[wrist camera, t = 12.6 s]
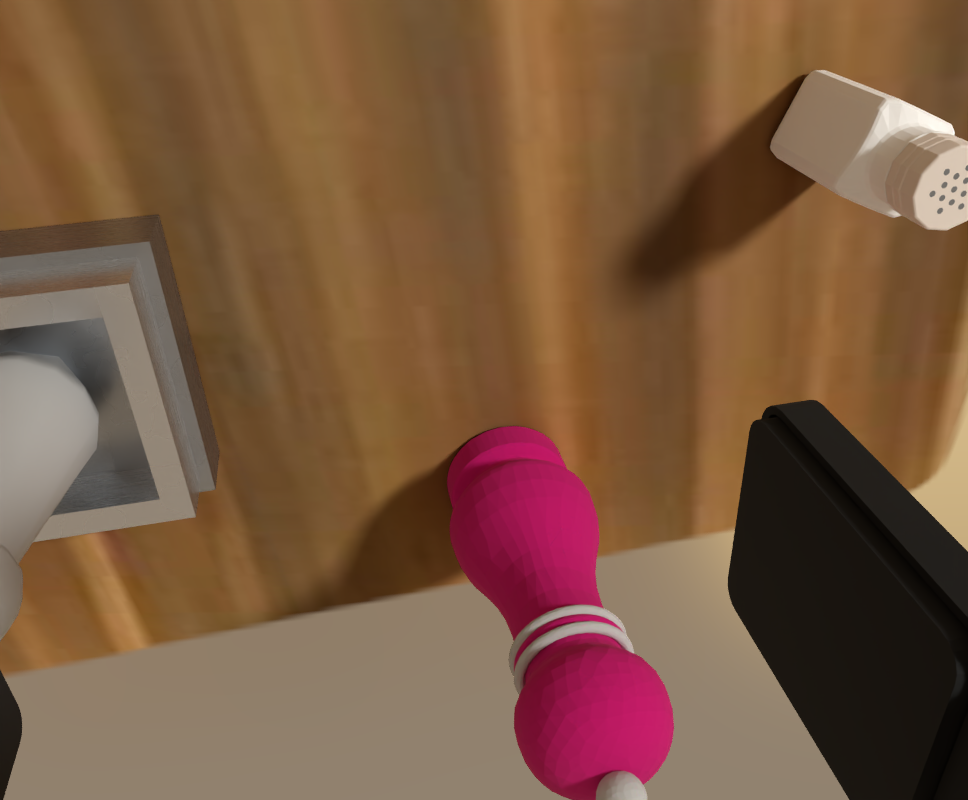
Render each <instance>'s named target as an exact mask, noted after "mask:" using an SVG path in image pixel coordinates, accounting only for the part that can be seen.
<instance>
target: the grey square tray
mask: <svg viewBox="0 0 968 800" xmlns="http://www.w3.org/2000/svg"><path fill="white" fill-rule="evenodd" d="M5 351H16V352H24V353H33V354H41V355H49V356H58V357H60V359H61V360H62V361H63V362H64V363H65V364H66V365H67V367H68V368H69V369H70V370H71V371H72V372H73V373H74V375H75V376H76V377H77V378H78V379H79V380H80V381H81V383H82V384H83V385H84V386H85V387H86V388H87V389H88V391H89V393H90V395H91V398H92V400H93V402H94V404H95V406H96V408H97V411H98V413H99V422H98V441H97V449H96V450H95V452H94V453H93V454H92V456H91V457H90V459H89V460H88V461H87V463H86V464H85V466H84V467H83V468H82V470H81V471H80V473H79V474H78V476H77V477H76V479H75V480H74V482H73V483H72V485H71V486H70V488H69V489H68V491H67V492H66V494H65V495H64V497H63V498H62V500H61V501H60V503H59V504H58V505H57V507H56V508H55V510H54V511H53V513H52V514H51V516H50V517H49V519H48V520H47V522H46V523H45V525H44V526H43V528H42V529H41V531H40V532H39V534H38V535H37V537H36V538H35V540H34V541H33V542H37V541H43V540H50V539H56V538H63V537H69V536H75V535H82V534H88V533H95V532H101V531H108V530H114V529H121V528H127V527H134V526H140V525H147V524H153V523H160V522H166V521H172V520H179V519H185V518H192V517H196V511H197V504H198V496H199V492H203V491H209V490H215V489H216V479H217V470H218V460H219V449H218V445H217V441H216V437H215V433H214V429H213V425H212V421H211V417H210V413H209V409H208V405H207V402H206V398H205V394H204V390H203V386H202V382H201V378H200V374H199V370H198V366H197V362H196V358H195V355H194V351H193V347H192V343H191V339H190V335H189V331H188V327H187V323H186V319H185V315H184V311H183V308H182V304H181V300H180V296H179V292H178V288H177V284H176V280H175V276H174V272H173V268H172V264H171V260H170V257H169V253H168V249H167V245H166V241H165V237H164V233H163V229H162V225H161V221H160V217H159V215H151V216H141V217H132V218H122V219H113V220H103V221H94V222H85V223H75V224H66V225H56V226H47V227H38V228H28V229H19V230H9V231H0V353H2V352H5Z"/></svg>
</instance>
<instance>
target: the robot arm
mask: <svg viewBox="0 0 968 800" xmlns="http://www.w3.org/2000/svg"><path fill="white" fill-rule="evenodd" d="M728 590H729V595H730V599H731V602H732V605H733V606H734V609H735V610H736V612H737V613H738V615H739V617H740V619H741V620H742V622H743V624H744V625H745V627H746V629H747V630H748V632H749V634H750V635H751V637H752V639H753V640H754V642H755V644H756V645H757V647H758V649H759V650H760V652H761V654H762V655H763V657H764V658H765V660H766V662H767V663H768V665H769V667H770V669H771V670H772V672H773V674H774V675H775V677H776V679H777V680H778V682H779V684H780V685H781V687H782V688H783V690H784V692H785V693H786V695H787V697H788V698H789V700H790V702H791V703H792V705H793V707H794V708H795V710H796V712H797V713H798V715H799V717H800V718H801V720H802V722H803V723H804V725H805V727H806V728H807V730H808V732H809V733H810V735H811V736H812V738H813V740H814V742H815V743H816V745H817V747H818V748H819V750H820V752H821V753H822V755H823V757H824V758H825V760H826V762H827V763H828V765H829V766H830V768H831V770H832V772H833V773H834V775H835V777H836V778H837V780H838V782H839V783H840V785H841V786H842V788H843V790H844V791H845V793H846V795H847V796H848V798H849V800H968V552H967V550H966V549H965V548H964V547H962V545H961V544H959V543H958V541H957V540H956V539H955V538H954V537H953V536H952V535H951V534H950V533H949V532H947V530H946V529H945V528H944V527H943V526H942V525H941V524H940V523H939V522H938V521H937V520H936V519H935V518H934V517H933V516H932V515H931V514H930V513H929V512H928V511H927V510H926V509H925V508H924V507H923V506H922V505H921V504H920V503H919V502H918V501H917V500H916V499H915V498H914V497H913V496H912V495H911V494H910V493H909V492H908V491H907V490H906V489H905V488H904V487H903V486H902V485H901V484H900V483H899V482H898V481H897V480H896V479H895V478H894V477H893V476H892V475H891V474H890V473H889V472H888V471H887V469H886V468H885V467H884V466H883V465H882V464H881V463H880V462H879V461H878V460H877V459H876V458H875V457H874V456H873V455H872V454H871V453H870V452H869V451H868V450H867V449H866V448H865V447H864V446H863V445H862V444H861V443H860V442H859V441H858V440H857V439H856V438H855V437H854V436H853V435H852V434H851V433H850V432H849V431H848V430H847V429H846V428H845V427H844V426H843V425H842V424H841V423H840V422H839V421H838V420H837V419H836V418H835V417H834V416H833V415H832V414H831V413H830V412H829V411H828V410H827V409H826V408H825V407H824V406H823V405H822V404H821V403H819V402H818V401H815V400H807V401H800V402H794V403H787V404H780V405H774V406H770V407H768V408H766V410H765V411H764V413H763V415H762V419H760V420H756V421H754V422H753V423H752V425H751V428H750V432H749V439H748V445H747V452H746V459H745V466H744V473H743V480H742V486H741V493H740V500H739V507H738V514H737V520H736V527H735V534H734V541H733V549H732V555H731V561H730V568H729V575H728ZM21 735H22V718H21V713H20V709H19V707H18V704H17V702H16V700H15V698H14V696H13V695H12V693H11V691H10V688H9V687H8V684H7V682H6V681H5V679H4V677H3V675H2V673H1V671H0V800H3V798H4V795H5V791H6V788H7V785H8V781H9V778H10V774H11V771H12V768H13V764H14V761H15V758H16V754H17V751H18V748H19V744H20V740H21Z"/></svg>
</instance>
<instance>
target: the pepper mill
mask: <svg viewBox="0 0 968 800" xmlns="http://www.w3.org/2000/svg"><path fill="white" fill-rule="evenodd" d="M447 488H448V493H449V497H450V500H451V504H452V508H453V512H452V516H451V519H450V538H451V543H452V546H453V549H454V552H455V555H456V558H457V560H458V562H459V565H460V567H461V569H462V570H463V571H464V573H465V574H466V576H467V577H468V579H469V580H470V581H471V583H472V584H473V585H474V586H475V587H476V588H477V589H478V590H479V591H480V592H481V593H483V594H484V595H485V596H486V597H487V598H488V599H489V600H490V601H491V602H492V603H493V604H494V605H495V606H496V607H497V608H498V609H499V611H500V612H501V614H502V615H503V617H504V618H505V620H506V622H507V624H508V627H509V629H510V631H511V634H512V636H513V640H514V642H513V644H512V646H511V649H510V653H509V667H510V669H511V672H512V674H513V676H514V684H515V687H516V690H517V692H518V694H519V698H518V701H517V704H516V707H515V713H514V729H515V734H516V738H517V742H518V746H519V748H520V751H521V753H522V756H523V758H524V760H525V762H526V764H527V766H528V767H529V769H530V770H531V772H532V773H533V774H534V776H535V777H536V778H537V779H538V780H539V781H540V782H541V783H542V784H543V785H544V786H546V787H547V788H548V789H550V790H551V791H552V792H555V793H557V794H559V795H561V796H563V797H566V798H569V799H572V800H647V794H646V790H645V788H644V786H643V784H645V783H646V782H647V781H649V780H650V779H651V778H652V777H653V775H654V774H655V773H656V772H657V771H658V770H659V768H660V767H661V765H662V764H663V762H664V761H665V759H666V757H667V755H668V752H669V750H670V747H671V743H672V739H673V738H672V737H673V730H674V723H673V711H672V706H671V703H670V699H669V696H668V693H667V691H666V688H665V686H664V684H663V682H662V681H661V679H660V677H659V676H658V674H657V672H656V671H655V670H654V669H653V668H652V667H651V666H650V665H649V664H648V663H647V662H645V661H644V660H643V659H642V658H641V657H640V656H638V655H636V654H634V650H633V646H632V643H631V642H630V640H629V638H628V637H627V636H626V630H625V628H624V625H623V623H622V622H621V621H620V619H619V618H617V616H615V615H614V614H613V613H611V612H610V611H608V610H606V609H604V608H603V606H602V603H601V600H600V597H599V593H598V590H597V585H596V576H595V570H596V569H595V568H596V558H597V552H598V546H599V526H598V517H597V514H596V511H595V508H594V505H593V502H592V499H591V496H590V493H589V491H588V490H587V488H586V487H585V485H584V484H583V482H582V481H581V480H580V479H579V478H578V477H577V476H576V475H575V474H574V473H572V472H571V471H569V470H567V468H566V466H565V464H564V462H563V459H562V457H561V455H560V453H559V451H558V449H557V447H556V446H555V444H554V443H553V442H552V441H551V440H550V439H549V438H548V437H546V436H545V435H544V434H542V433H540V432H538V431H536V430H533V429H529V428H525V427H519V426H510V427H499V428H496V429H492V430H489V431H486V432H484V433H482V434H480V435H478V436H477V437H475V438H473V439H471V440H470V441H469V442H468V443H467V444H466V445H465V446H464V447H462V448H461V450H460V451H459V452H458V453H457V455H456V456H455V457H454V459H453V461H452V463H451V465H450V468H449V472H448V476H447Z"/></svg>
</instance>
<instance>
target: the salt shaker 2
mask: <svg viewBox="0 0 968 800" xmlns="http://www.w3.org/2000/svg"><path fill="white" fill-rule="evenodd" d="M954 134H955V132H954V129H953V127H952V125H951V124H950V123H948V122H946V121H944V120H942V119H940V118H938V117H936V116H934V115H932V114H930V113H928V112H926V111H924V110H921V109H919V108H917V107H915V106H913V105H911V104H909V103H907V102H904V101H902V100H900V99H898V98H895V97H893V96H890V95H888V94H885V93H883V92H880V91H877V90H875V89H872V88H870V87H867V86H865V85H862V84H859V83H857V82H854V81H852V80H849V79H847V78H844V77H841V76H839V75H836V74H834V73H831V72H829V71H826V70H818V71H812V72H811V73H810V74H809V75H808V76H807V77H806V78H805V79H804V81H803V83H802V85H801V87H800V89H799V90H798V92H797V94H796V96H795V98H794V100H793V101H792V103H791V105H790V107H789V109H788V111H787V112H786V114H785V116H784V118H783V120H782V122H781V123H780V125H779V127H778V129H777V131H776V133H775V134H774V136H773V138H772V141H771V145H770V149H771V151H772V152H773V154H774V155H775V156H776V158H778V159H780V160H781V161H783V162H784V163H786V164H788V165H789V166H791V167H793V168H794V169H796V170H798V171H799V172H801V173H803V174H804V175H806V176H808V177H809V178H811V179H813V180H814V181H816V182H818V183H819V184H821V185H823V186H824V187H826V188H828V189H829V190H831V191H833V192H834V193H836V194H837V195H839V196H841V197H843V198H846V199H848V200H850V201H853V202H855V203H857V204H859V205H862V206H864V207H867V208H869V209H871V210H874V211H876V212H879V213H881V214H884V215H887V216H889V217H893V218H894V217H898V216H904V217H906V218H908V219H909V220H911V221H913V222H915V223H916V224H918V225H920V226H921V227H923V228H925V229H930V230H948V229H950V228H952V227H955V226H957V225H959V224H961V223H963V222H966V221H967V220H968V141H966V140H963V139H961V138H958V137H956V136H954Z"/></svg>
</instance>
